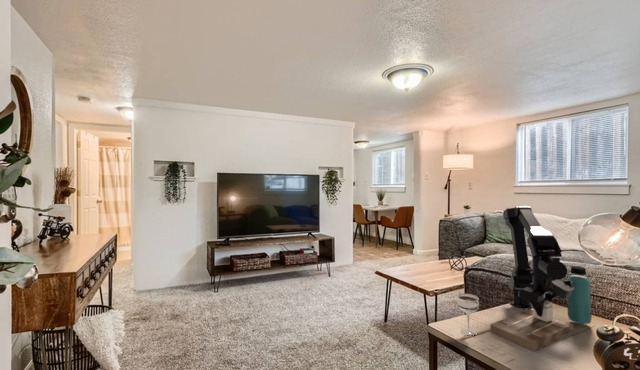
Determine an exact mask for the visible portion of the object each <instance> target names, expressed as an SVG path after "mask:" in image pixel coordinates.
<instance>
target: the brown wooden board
mask: <svg viewBox="0 0 640 370" xmlns="http://www.w3.org/2000/svg"><path fill="white" fill-rule="evenodd" d="M489 325H490V326H489V327H490V328H489V330H490V332H489V333H492V334H495V335H497V336H499V337H502V338H503V339H506V340H508V341H511V342H513V343H514V344H517V345H519V346H521V347H524V348H526V349H527V350H528V349H529V350H531V351H533V352H536V351H539V350H540V349H542V348H544V347H546V346H548V345H550V344H552V343H554V342H556V341H558V340H559V339H562V338H564V337H565V336H567V335H570V334H571V333H573V332H574V323H572V322H568V321H567V320H563V319H560V318H557V317H555V316H553V320H551V321H548V322H546V321H543V320H540V319H537V318H534V317H533V309H530V308H529V309H524V310H523V311H521V312H518V313H515V314H513V315H510V316H508V317H505V318H503V319H500V320H498V321H495V322H493V323H490V324H489Z"/></svg>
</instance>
